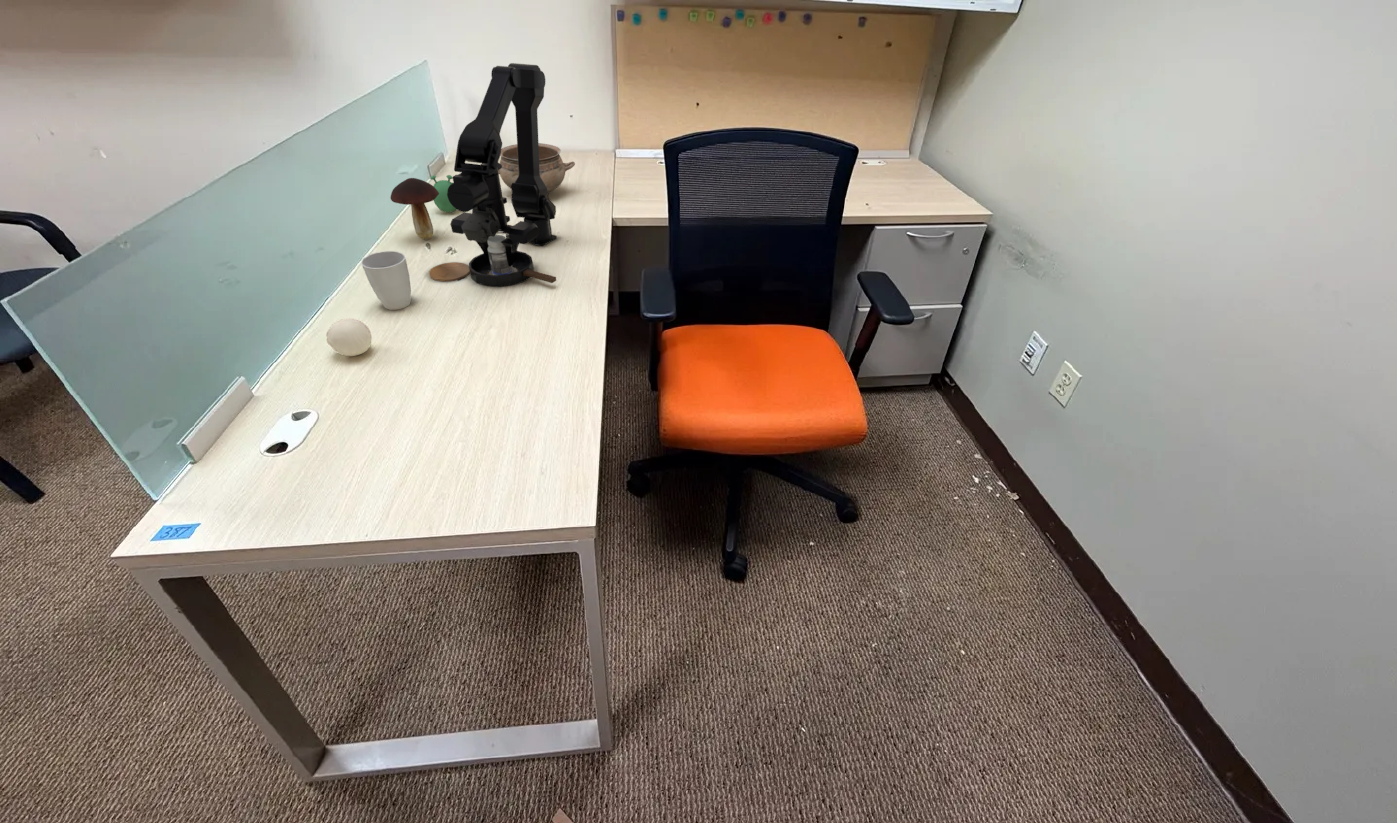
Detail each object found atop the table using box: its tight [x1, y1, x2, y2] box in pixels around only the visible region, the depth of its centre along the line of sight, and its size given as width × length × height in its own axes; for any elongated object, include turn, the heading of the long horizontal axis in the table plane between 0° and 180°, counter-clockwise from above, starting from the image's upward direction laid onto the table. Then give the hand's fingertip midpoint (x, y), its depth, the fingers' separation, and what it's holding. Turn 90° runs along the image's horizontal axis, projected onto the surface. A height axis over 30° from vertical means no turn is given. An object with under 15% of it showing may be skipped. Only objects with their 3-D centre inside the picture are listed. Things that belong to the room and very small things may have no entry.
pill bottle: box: [487, 234, 514, 275], centre depth 136 cm, size 5×5×8 cm
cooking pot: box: [498, 142, 576, 194], centre depth 177 cm, size 25×19×12 cm
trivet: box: [428, 261, 471, 282], centre depth 138 cm, size 9×9×1 cm
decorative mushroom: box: [389, 177, 439, 240], centre depth 148 cm, size 11×11×15 cm
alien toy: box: [430, 174, 457, 213], centre depth 164 cm, size 7×8×10 cm
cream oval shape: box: [325, 317, 373, 357], centre depth 109 cm, size 7×7×7 cm
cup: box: [360, 250, 412, 311], centre depth 123 cm, size 8×8×10 cm
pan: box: [468, 250, 557, 288], centre depth 137 cm, size 14×22×3 cm, turn 63°
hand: (501, 263), depth 137 cm, fingers closed on pill bottle, 5 cm apart
